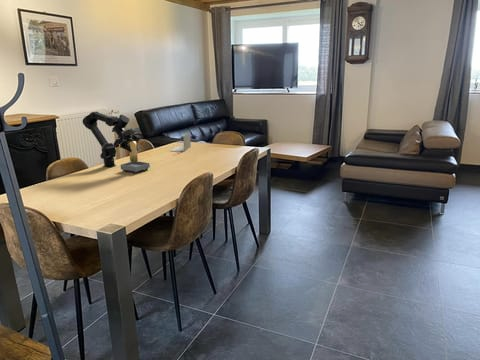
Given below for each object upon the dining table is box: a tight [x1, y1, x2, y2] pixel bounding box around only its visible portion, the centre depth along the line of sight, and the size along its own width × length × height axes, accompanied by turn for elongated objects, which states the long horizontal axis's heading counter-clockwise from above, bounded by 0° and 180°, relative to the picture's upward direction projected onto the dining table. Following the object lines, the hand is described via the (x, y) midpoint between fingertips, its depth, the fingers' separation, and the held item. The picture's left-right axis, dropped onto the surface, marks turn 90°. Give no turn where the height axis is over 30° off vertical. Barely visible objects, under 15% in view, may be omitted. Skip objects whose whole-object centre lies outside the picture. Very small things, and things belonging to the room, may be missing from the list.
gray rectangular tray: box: [119, 160, 151, 174], centre depth 238 cm, size 14×12×4 cm
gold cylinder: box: [127, 141, 139, 162], centre depth 233 cm, size 5×5×12 cm
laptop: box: [169, 132, 192, 153], centre depth 301 cm, size 18×12×13 cm
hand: (134, 151), depth 233 cm, fingers closed on gold cylinder, 5 cm apart
